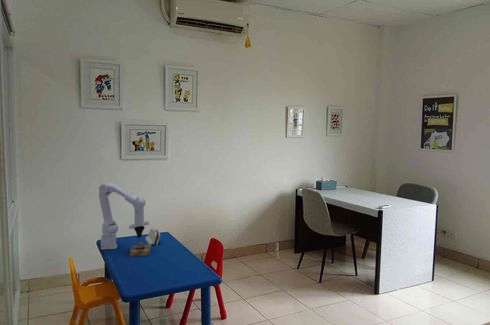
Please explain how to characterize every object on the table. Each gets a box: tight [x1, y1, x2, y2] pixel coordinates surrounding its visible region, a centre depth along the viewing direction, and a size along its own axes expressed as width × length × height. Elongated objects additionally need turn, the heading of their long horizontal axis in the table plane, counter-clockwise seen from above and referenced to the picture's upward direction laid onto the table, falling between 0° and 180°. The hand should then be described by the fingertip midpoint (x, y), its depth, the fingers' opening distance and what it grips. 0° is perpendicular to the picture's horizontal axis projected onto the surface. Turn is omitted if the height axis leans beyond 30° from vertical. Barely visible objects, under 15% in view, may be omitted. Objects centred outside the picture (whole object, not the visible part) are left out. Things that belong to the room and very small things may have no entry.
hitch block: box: [129, 244, 152, 257], centre depth 245 cm, size 12×12×3 cm
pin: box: [137, 240, 144, 250], centre depth 245 cm, size 4×4×7 cm
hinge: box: [144, 228, 161, 246], centre depth 268 cm, size 17×5×10 cm, turn 27°
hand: (139, 237), depth 247 cm, fingers closed
